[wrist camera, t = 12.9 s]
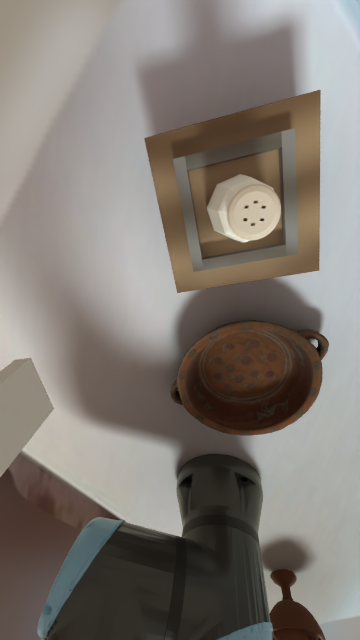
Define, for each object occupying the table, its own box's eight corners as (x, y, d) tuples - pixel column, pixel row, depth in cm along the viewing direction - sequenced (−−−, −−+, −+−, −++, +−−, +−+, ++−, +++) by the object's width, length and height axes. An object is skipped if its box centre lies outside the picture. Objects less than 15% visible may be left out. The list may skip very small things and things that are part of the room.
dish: (342, 381, 37) (360, 406, 33) (204, 428, 44) (203, 455, 39) (295, 275, 32) (309, 287, 27) (147, 347, 38) (138, 367, 34)
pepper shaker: (208, 174, 23) (205, 153, 13) (272, 174, 22) (320, 152, 12) (205, 238, 25) (200, 263, 15) (263, 240, 25) (297, 266, 15)
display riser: (300, 258, 31) (323, 273, 24) (183, 277, 33) (176, 296, 27) (297, 113, 25) (326, 83, 19) (157, 150, 28) (140, 134, 21)
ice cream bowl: (256, 562, 58) (269, 673, 44) (310, 564, 56) (341, 681, 42) (259, 586, 62) (272, 695, 48) (309, 589, 60) (337, 703, 46)
